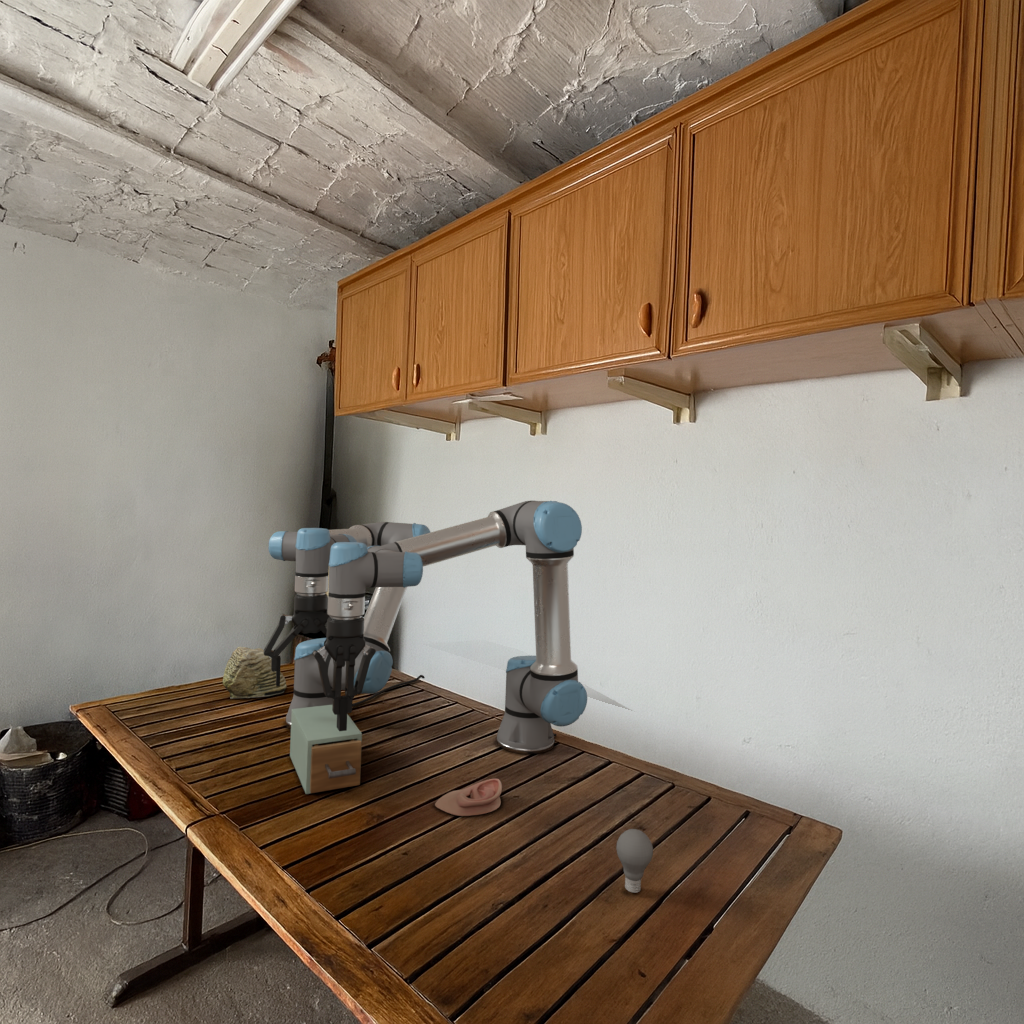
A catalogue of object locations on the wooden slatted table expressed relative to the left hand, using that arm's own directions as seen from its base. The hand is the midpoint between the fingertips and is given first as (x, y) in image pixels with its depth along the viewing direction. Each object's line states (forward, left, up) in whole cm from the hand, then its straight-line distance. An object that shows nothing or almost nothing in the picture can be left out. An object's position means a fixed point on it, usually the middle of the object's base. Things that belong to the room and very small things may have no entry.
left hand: (308, 682), depth 150 cm
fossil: (-17, -54, -19) cm, 60 cm away
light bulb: (-8, +82, -19) cm, 85 cm away
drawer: (+2, +12, -18) cm, 22 cm away
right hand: (+6, +21, -4) cm, 22 cm away
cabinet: (0, +7, -19) cm, 20 cm away
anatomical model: (-12, +42, -19) cm, 48 cm away
